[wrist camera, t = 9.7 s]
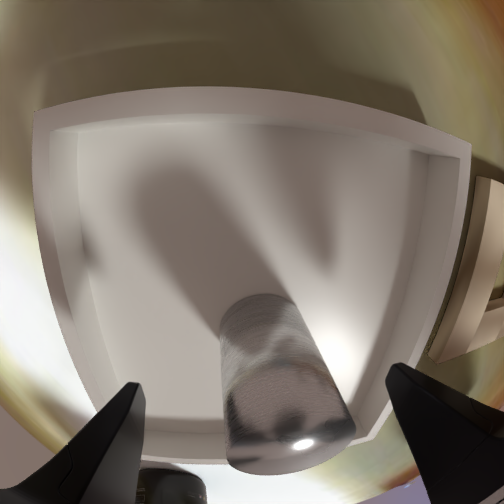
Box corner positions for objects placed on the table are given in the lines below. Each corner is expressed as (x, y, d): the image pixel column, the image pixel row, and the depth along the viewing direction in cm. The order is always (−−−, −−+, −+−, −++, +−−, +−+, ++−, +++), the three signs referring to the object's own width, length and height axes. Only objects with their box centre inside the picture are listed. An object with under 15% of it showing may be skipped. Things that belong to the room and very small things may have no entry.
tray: (360, 414, 16) (372, 439, 14) (130, 427, 14) (124, 457, 11) (434, 141, 10) (471, 144, 8) (68, 117, 8) (34, 111, 6)
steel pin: (296, 357, 12) (336, 463, 7) (220, 361, 12) (228, 479, 6) (307, 292, 11) (374, 402, 5) (218, 293, 11) (224, 424, 5)
